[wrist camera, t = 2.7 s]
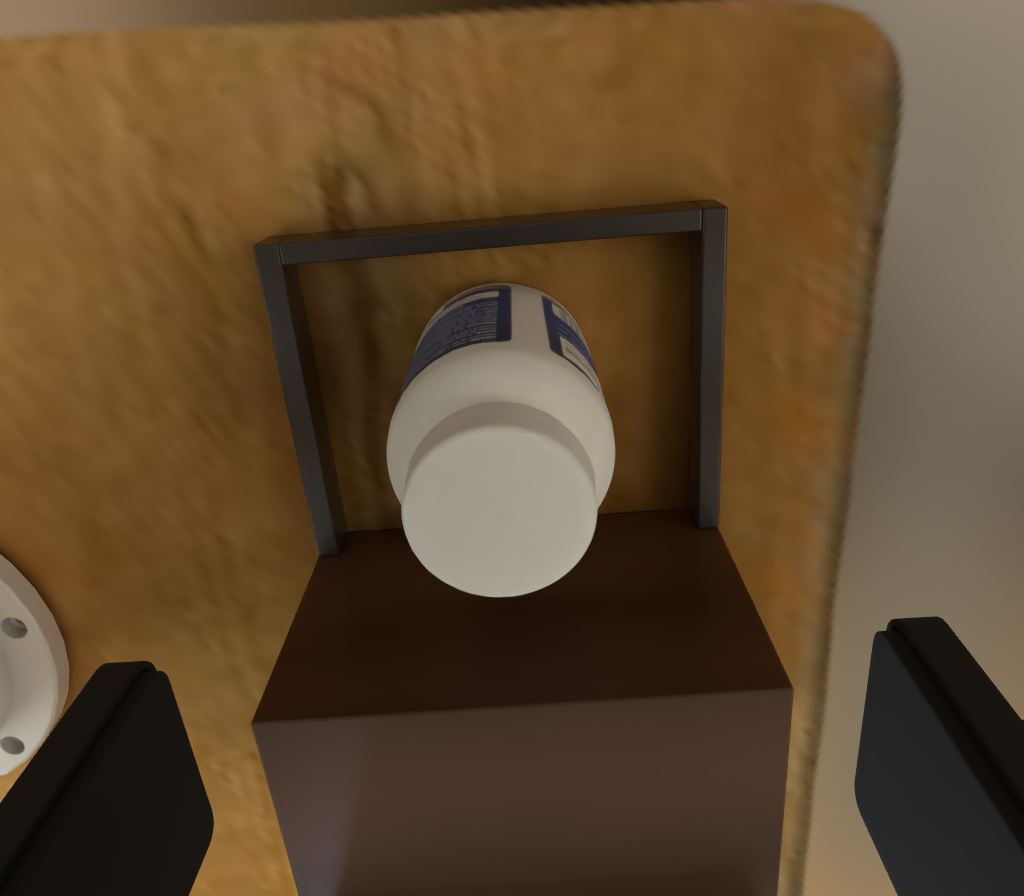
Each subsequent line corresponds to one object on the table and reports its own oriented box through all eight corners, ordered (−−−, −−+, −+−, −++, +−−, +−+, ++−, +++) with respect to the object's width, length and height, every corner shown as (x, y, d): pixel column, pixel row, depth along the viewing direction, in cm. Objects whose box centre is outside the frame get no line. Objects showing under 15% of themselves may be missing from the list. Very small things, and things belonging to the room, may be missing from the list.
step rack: (267, 236, 23) (69, 359, 13) (715, 198, 23) (887, 294, 12) (372, 753, 32) (303, 1084, 21) (703, 732, 31) (801, 1060, 21)
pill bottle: (403, 425, 26) (347, 602, 17) (433, 261, 24) (386, 366, 15) (565, 458, 26) (594, 647, 17) (609, 300, 24) (667, 424, 15)
